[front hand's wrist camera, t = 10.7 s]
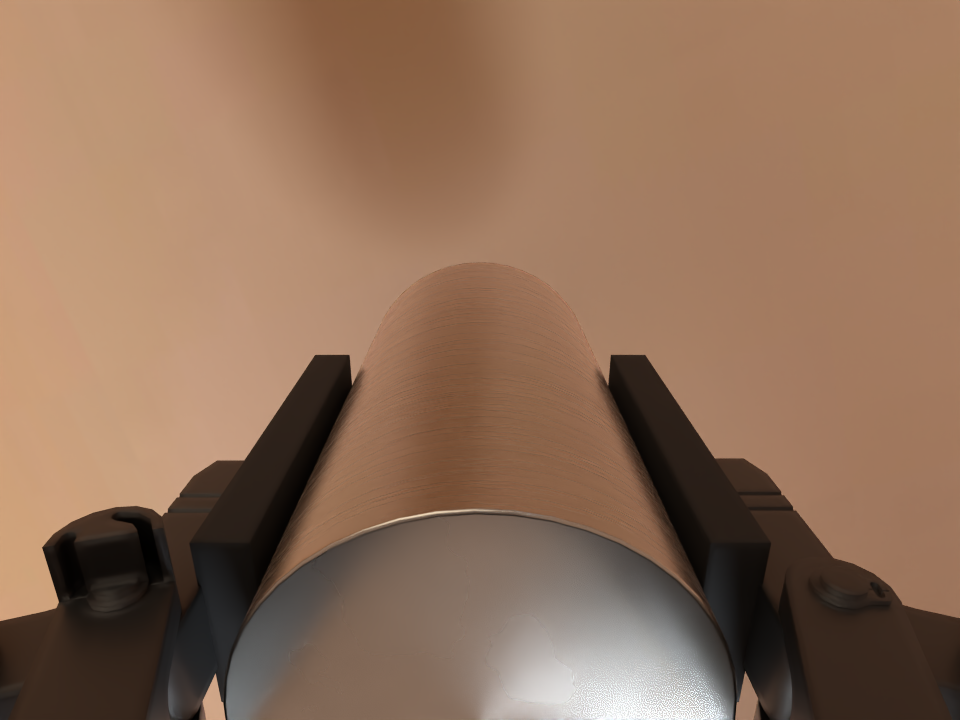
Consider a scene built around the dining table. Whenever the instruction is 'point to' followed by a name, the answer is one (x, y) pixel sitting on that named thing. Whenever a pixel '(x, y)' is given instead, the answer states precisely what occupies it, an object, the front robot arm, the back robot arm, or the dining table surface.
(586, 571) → the canister
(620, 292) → the dining table surface
